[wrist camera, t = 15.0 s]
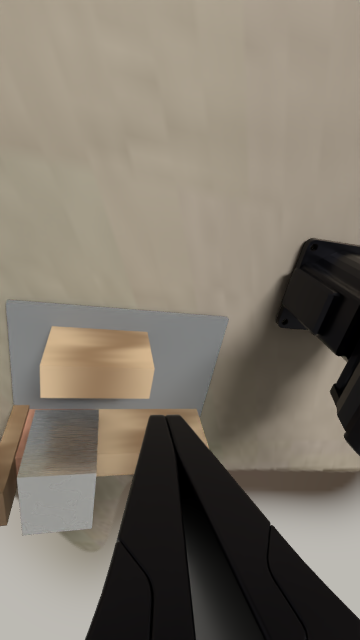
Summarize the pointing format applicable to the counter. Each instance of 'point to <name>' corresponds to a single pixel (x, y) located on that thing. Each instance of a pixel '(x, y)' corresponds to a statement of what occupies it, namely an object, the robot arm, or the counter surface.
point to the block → (91, 382)
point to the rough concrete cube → (59, 471)
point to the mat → (163, 330)
